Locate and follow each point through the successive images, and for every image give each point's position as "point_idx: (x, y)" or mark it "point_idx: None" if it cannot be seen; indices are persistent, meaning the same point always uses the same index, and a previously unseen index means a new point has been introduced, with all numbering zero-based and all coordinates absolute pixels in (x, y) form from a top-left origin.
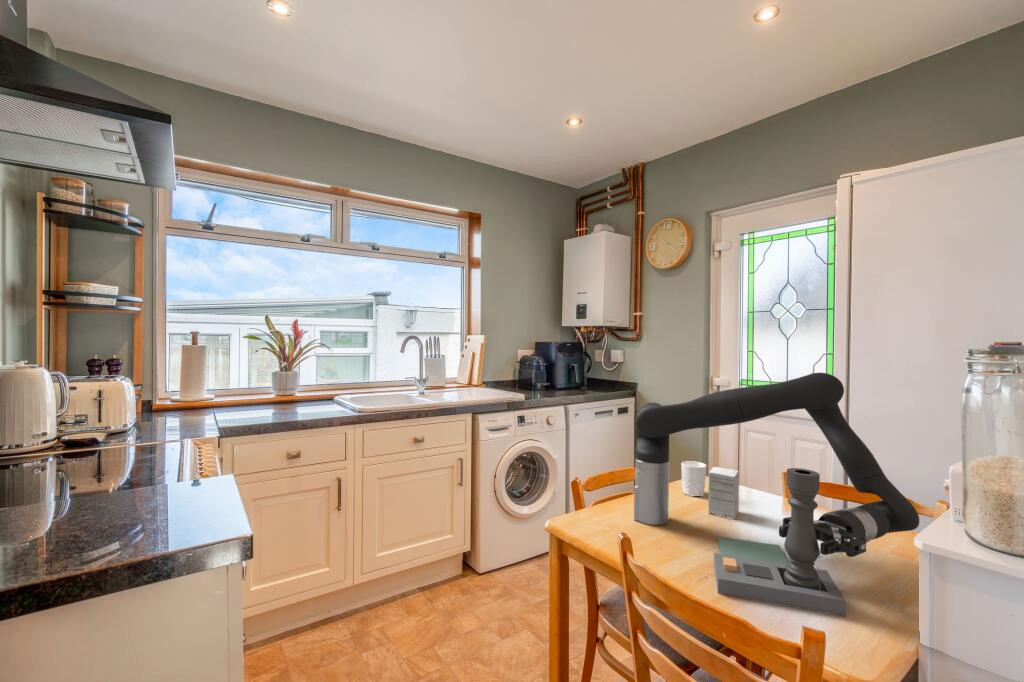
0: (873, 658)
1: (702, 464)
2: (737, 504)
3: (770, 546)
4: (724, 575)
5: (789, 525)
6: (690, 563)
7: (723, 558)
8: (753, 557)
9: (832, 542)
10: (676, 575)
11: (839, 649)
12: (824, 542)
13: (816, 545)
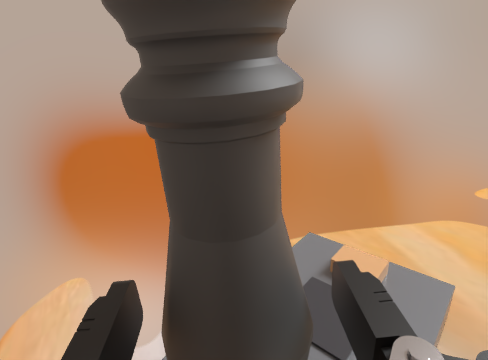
0: (21, 347)
1: None
2: None
3: None
4: (318, 244)
5: (364, 305)
6: (450, 277)
7: (379, 257)
8: None
9: (87, 339)
10: (382, 235)
11: (84, 314)
12: (120, 293)
13: (164, 306)
